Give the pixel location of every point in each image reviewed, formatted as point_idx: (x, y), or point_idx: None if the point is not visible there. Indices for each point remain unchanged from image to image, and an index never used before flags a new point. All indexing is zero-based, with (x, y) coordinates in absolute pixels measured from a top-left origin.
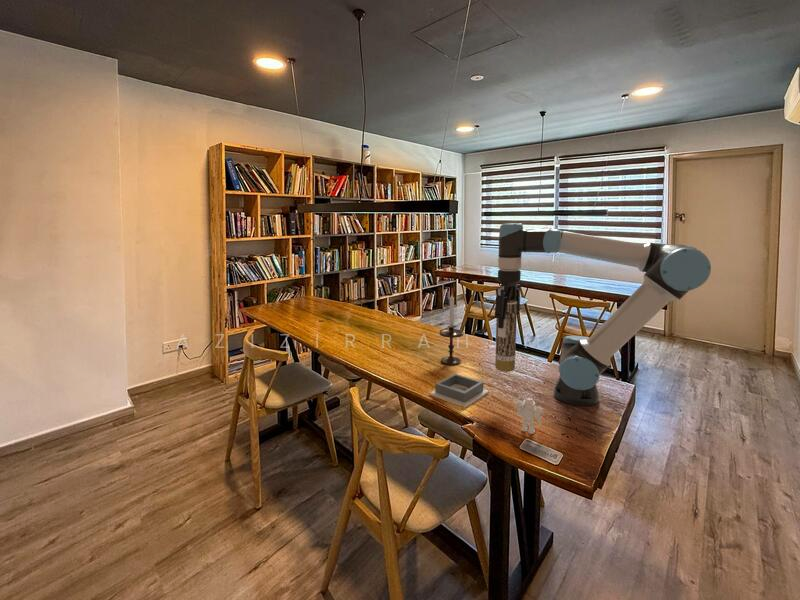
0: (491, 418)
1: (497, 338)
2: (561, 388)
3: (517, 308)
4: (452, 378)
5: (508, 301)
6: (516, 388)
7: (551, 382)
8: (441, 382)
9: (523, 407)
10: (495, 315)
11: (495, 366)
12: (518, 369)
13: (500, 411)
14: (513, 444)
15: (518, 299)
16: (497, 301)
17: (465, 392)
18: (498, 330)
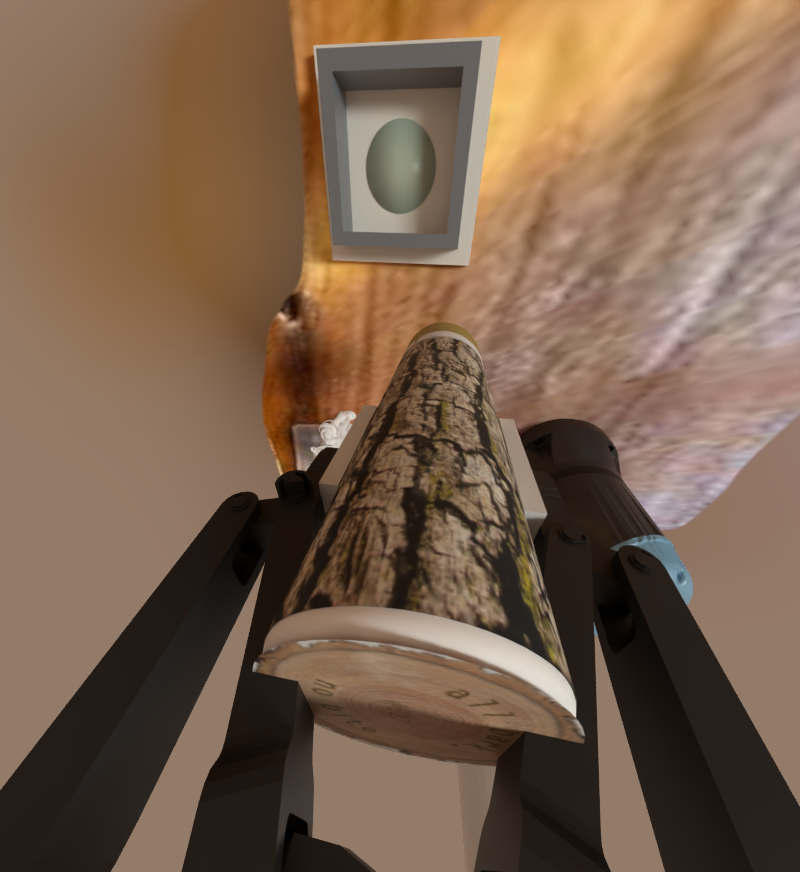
0: (339, 345)
1: (388, 387)
2: (529, 455)
3: (596, 615)
4: (435, 71)
5: (375, 722)
6: (548, 326)
7: (642, 396)
8: (345, 68)
9: (322, 441)
10: (221, 514)
11: (420, 330)
12: (772, 251)
13: (382, 348)
14: (293, 415)
15: (646, 778)
16: (94, 702)
17: (341, 242)
18: (353, 428)
